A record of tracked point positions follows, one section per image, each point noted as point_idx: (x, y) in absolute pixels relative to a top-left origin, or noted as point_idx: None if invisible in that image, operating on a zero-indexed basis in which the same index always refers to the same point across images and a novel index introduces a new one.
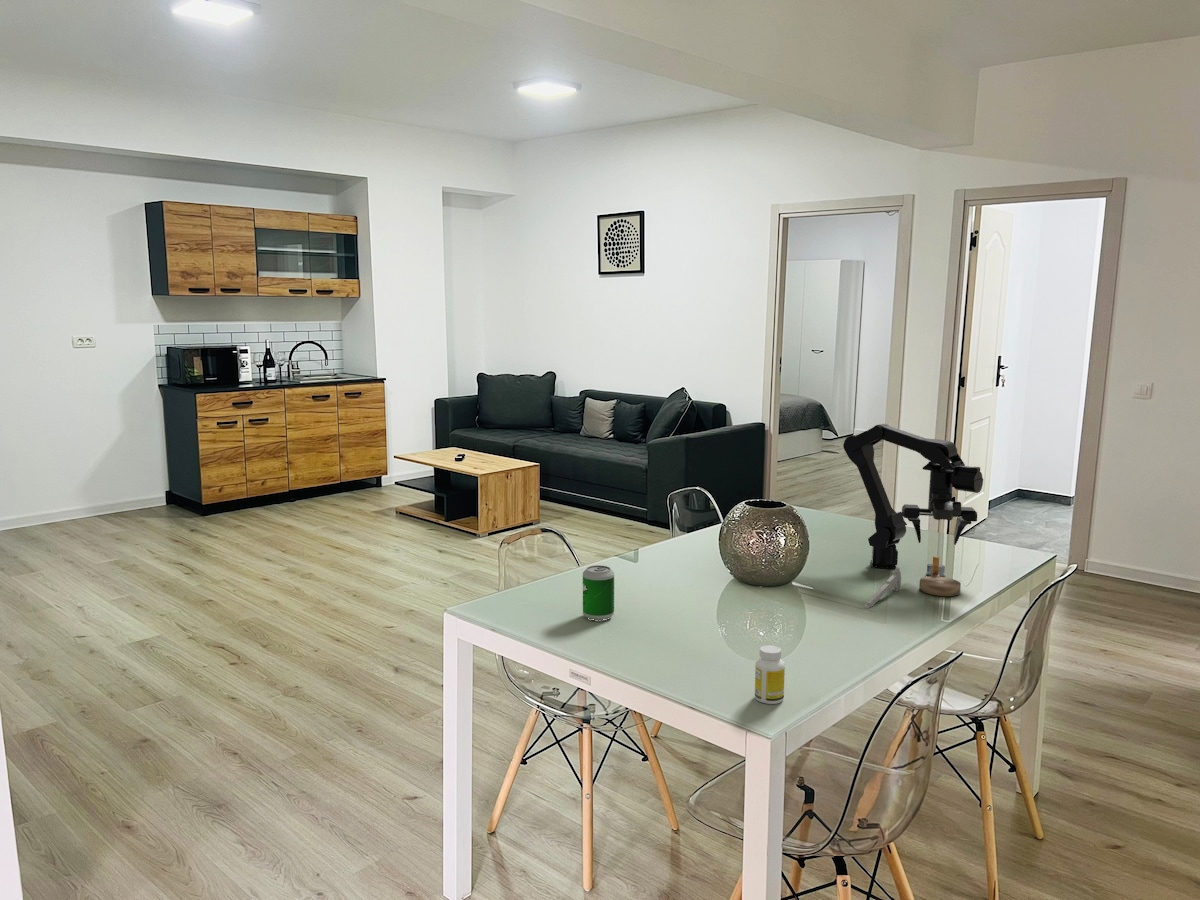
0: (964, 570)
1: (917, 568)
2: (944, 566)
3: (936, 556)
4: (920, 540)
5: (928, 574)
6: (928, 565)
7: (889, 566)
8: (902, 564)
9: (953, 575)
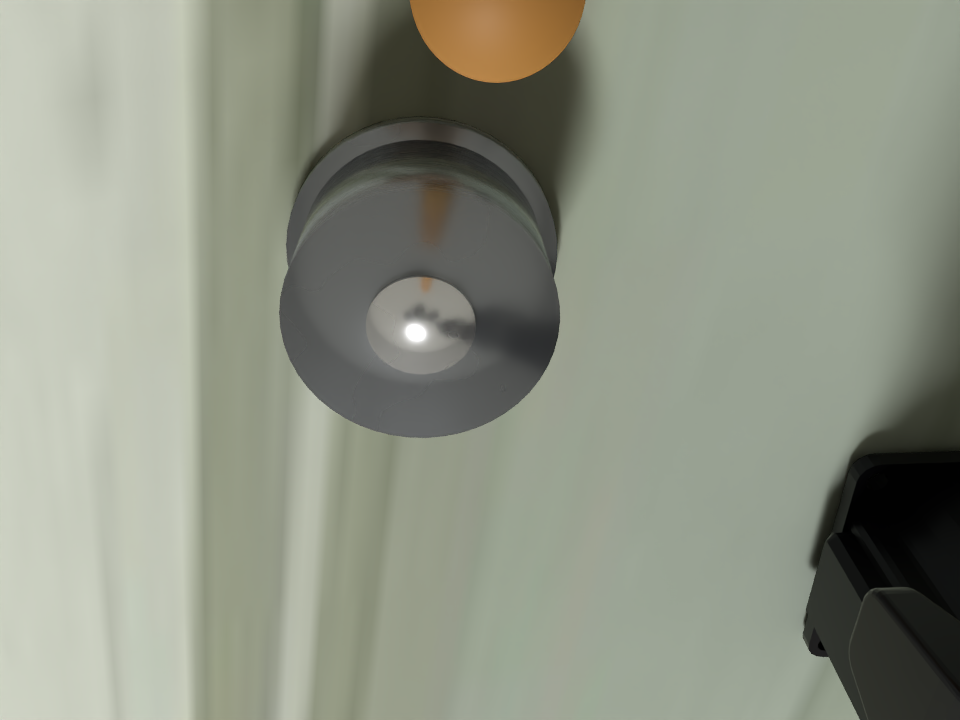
0: (69, 569)
1: (587, 532)
2: (287, 319)
3: (478, 78)
4: (912, 632)
5: (531, 210)
6: (539, 325)
7: (933, 479)
8: (715, 622)
9: (185, 362)
